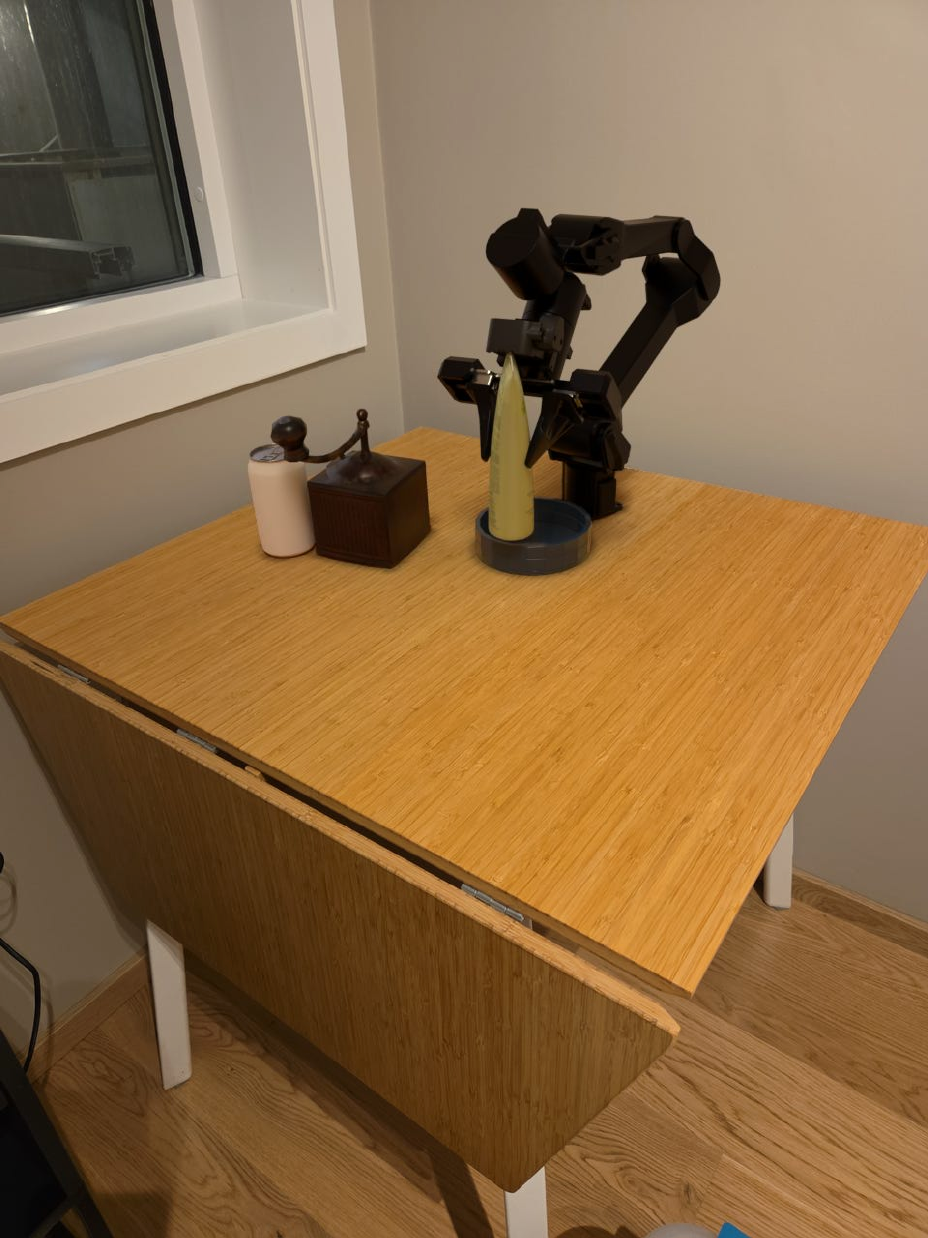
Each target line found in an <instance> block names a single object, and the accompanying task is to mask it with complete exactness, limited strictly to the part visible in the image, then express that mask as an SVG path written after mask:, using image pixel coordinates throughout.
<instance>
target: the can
mask: <svg viewBox="0 0 928 1238" xmlns="http://www.w3.org/2000/svg"><path fill="white" fill-rule="evenodd" d="M248 457H249V461H248V463H247V472H248V473H247V474H248V480H249V485H250V491H251V496H252V501H253V507H254V513H255V518H256V524H257V530H258V534H259V540H260V545H261V548H262V551H263V552H265V553H266V554H267V555H268V556H270V557H274V558H278V559H279V558H280V559H288V558H295V557H299V556H302V555H304V554H307V553H309V552H310V551H311V550H312V549H313V547H314V546H316V540H315V534H314V527H313V520H312V513H311V506H310V499H309V492H308V487H307V481H308V480H309V479H308V474H307V468H306V463H305V462H295V463H290V462H288V461H286V460H284V449H283V448H281V447H280V446H279V445H277V444H276V443H274V442H272V443H266V444H263V445H259V446H256V447H254V448H253V449H252V450H250V451H249V453H248Z"/></svg>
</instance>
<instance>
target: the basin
mask: <svg viewBox="0 0 928 1238" xmlns="http://www.w3.org/2000/svg"><path fill="white" fill-rule="evenodd" d="M560 499H561V498H556V497H548V496H534V530H533V532H532V534H530V535H529V536H528V537H526V538H524V539H520V540H513V541H510V540H503V539H499V538H497V537H495V536H493V535H492V534H491V533H490V531H489V505H488V506H486V507H485V508H484V509H482V510H480V512H479V513H478V515H476V517H474V535H475V536H474V537H475V551H476V555H477V557H478V559H479V560H481V561H482V563H484V564H485V565H487V566H488V567H490V568H492V569H494V570H497V571H500V572H503V573H507V574H513V575H518V576H519V575H522V576H543V575H551V574H552V575H553V574H556V573H557V574H558V573H561V572H564V571H567V570H571V569H573V568H575V567H576V566H578V565H580V564H581V563H582V562H584V561H585V560H586V559H587V557H588V556H589V554H590V552H591V546H592V520H591V518H590V515H589V514H588V513H587V512H586V511H585V510H584V509H583V508H582V507H580V506H578V505H576V504H574V503H571V502H568V501H564V500H560Z"/></svg>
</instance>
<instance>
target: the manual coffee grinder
mask: <svg viewBox="0 0 928 1238" xmlns="http://www.w3.org/2000/svg"><path fill="white" fill-rule="evenodd" d="M355 415H356V418H357V422H356V429H355V430H354V432H353V433H352V434H351V436H350V437H349V438H348V440H347V441H345V442H344V443H343V444H342V445H341V446H339V447H338V448H337V449H335V450H333V451H332V452H329V453H326V454H321V455H310V451H311V450H310V449H309V447H307V446H306V444H305V440H306V437H307V435H308V426H307V425H308V424H307V423H306V422H305V421H304V419H302V418H301V417H298V416H293V415H284V416H281V417H279V418H278V419H276V420H275V421H274V422H273V423H272V424H271V432H270V439H271V441H272V443H276V444H277V445H279V446H280V447H281V448H283V449H284V460H286V461H288V462H290V463H295V462H305V464H316V465H319V464H326V466H325V468H324V469H322V470H321V471H320V472H318V473H317V474H315V475H314V476H313V477H311V478H310V479H307V480H308V481H307V487H308V492H309V499H310V506H311V513H312V520H313V527H314V534H315V540H316V543H315V553H316V555H317V554H318V555H321V556H323V557H325V558H329V559H332V560H336V561H342V562H347V563H352V564H356V565H361V566H366V567H373V568H374V567H375V568H384V569H393V568H394V567H396V566H397V565H398V564H400V563H401V562H402V561H404V559H406V557H408V555H410V553H412V552H413V551H414V550H415V549H416V548H417V547H418V545H420V544H421V543H422V542H423V540H424V539H425V538H426V537H427V536H428V535H429V534H430V532H431V531H432V527H431V518H430V517H431V516H430V503H429V489H428V487H429V486H428V476H427V475H428V474H427V473H428V472H427V463H426V460H423V459H416V458H410V457H405V456H404V457H403V456H396V455H390V454H384V453H380V452H376V451H372V450H371V449H370V443H369V429H370V427H371V425H370V421H369V420H368V417H369V412H368V410H367V409H366V408H359V409H357V411H356V412H355ZM359 441H360V449H359V450H353V449H352V450H351V451H350V449H351V448H353V447H354V446H355V445H356V444H357V443H358V442H359ZM348 451H350V452H348ZM347 452H348V453H347Z"/></svg>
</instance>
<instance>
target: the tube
mask: <svg viewBox="0 0 928 1238" xmlns="http://www.w3.org/2000/svg"><path fill="white" fill-rule="evenodd" d="M500 374H501V378H500V383H499V389H498V396H497V402H496V409H495V416H494V425H493V434H492V445H491V456H490V458H489V460H490V462H489V464H490V465H489V485H488V486H489V488H488V495H489V496H488V506H489V531H490V533H491V534H492V535H493V536H495V537H497V538H499V539H503V540H510V541H513V540H520V539H524V538H526V537H528V536H529V535H530V534H532V532H533V530H534V497H535V496H534V474H533V473H534V471H533V467H532V468H530V469H529V468H526V466H525V464H524V463H525V458H526V454H527V451H528V447H529V444H530V441H531V434H530V425H529V420H528V412H527V407H526V401H525V396H524V395H523V389H522V384H521V379H520V375H519V371H518V367H517V364H516V361H515V358H514V355H513V354H512V353H511V352H510V353H509V354H507V355H506V358H505V361H504V365H503V367H502V370H501V373H500Z"/></svg>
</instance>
